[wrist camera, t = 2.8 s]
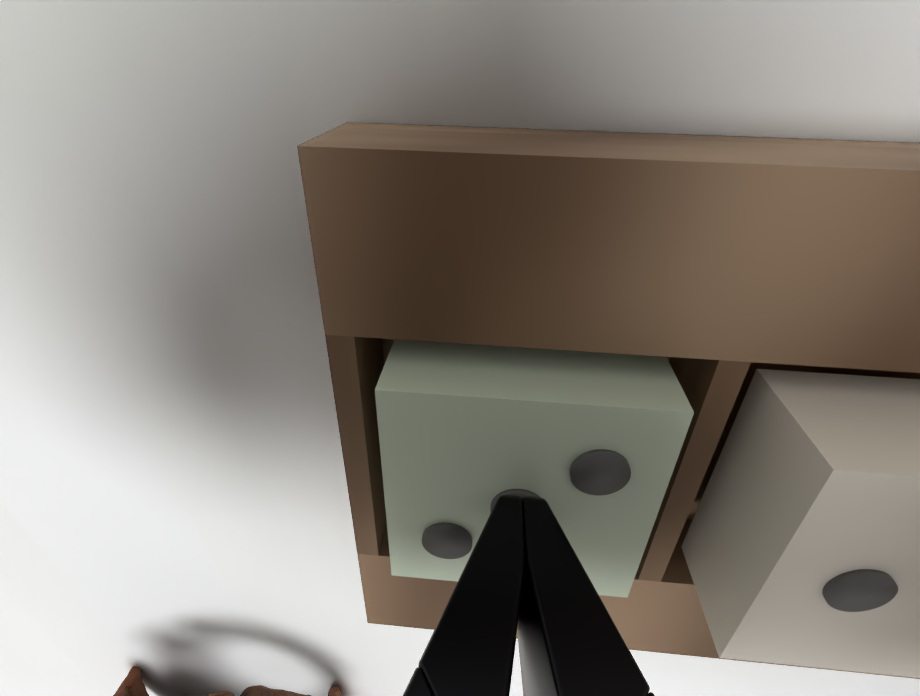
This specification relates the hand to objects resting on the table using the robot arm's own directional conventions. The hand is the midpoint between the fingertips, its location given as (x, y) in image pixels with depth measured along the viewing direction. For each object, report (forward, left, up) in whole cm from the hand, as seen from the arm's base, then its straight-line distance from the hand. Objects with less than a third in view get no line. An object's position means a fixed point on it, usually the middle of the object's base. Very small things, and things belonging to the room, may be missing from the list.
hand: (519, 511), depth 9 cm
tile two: (-6, 0, -1) cm, 7 cm away
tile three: (0, 0, -2) cm, 2 cm away
